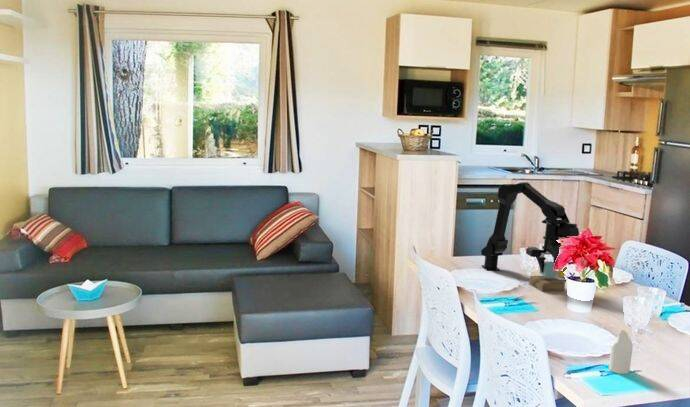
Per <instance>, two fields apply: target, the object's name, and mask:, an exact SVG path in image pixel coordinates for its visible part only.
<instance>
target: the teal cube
mask: <svg viewBox="0 0 690 407" xmlns="http://www.w3.org/2000/svg"><path fill="white" fill-rule="evenodd" d="M553 267H554V262H553V261H544V270H543V273H542V272H541V270H540V269H539V274H540V275H541V276H545V277H556V276H557V271H553Z"/></svg>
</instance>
